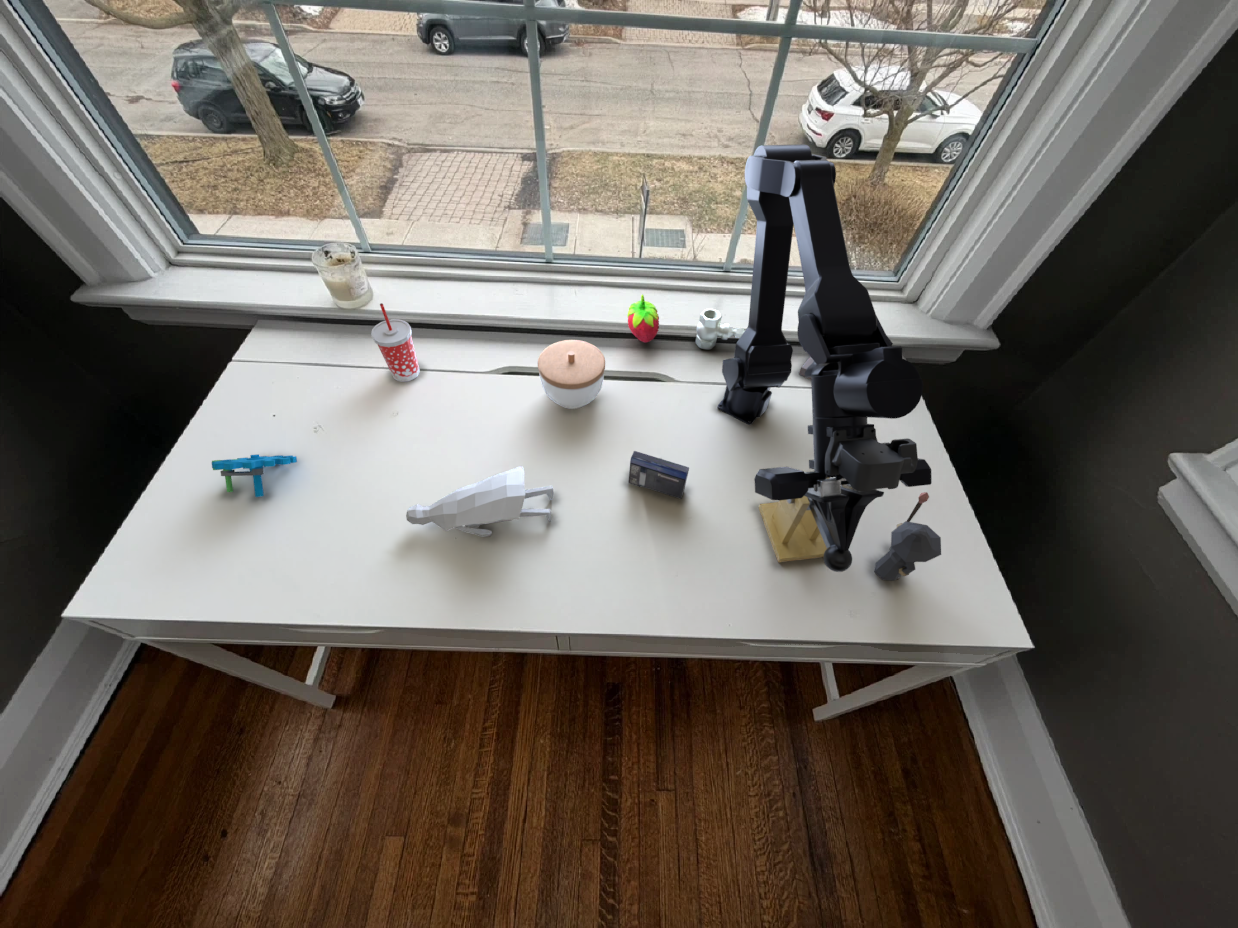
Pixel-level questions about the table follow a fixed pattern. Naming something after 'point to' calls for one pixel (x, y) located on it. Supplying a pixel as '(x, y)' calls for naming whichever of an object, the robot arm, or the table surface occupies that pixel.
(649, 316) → the strawberry
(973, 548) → the table surface
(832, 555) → the tap lever
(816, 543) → the bracket
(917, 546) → the wizard figurine
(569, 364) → the trinket box
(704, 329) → the valve
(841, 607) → the table surface
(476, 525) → the superhero figure
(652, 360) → the table surface
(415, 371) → the beverage cup
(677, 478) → the mini dv tape
